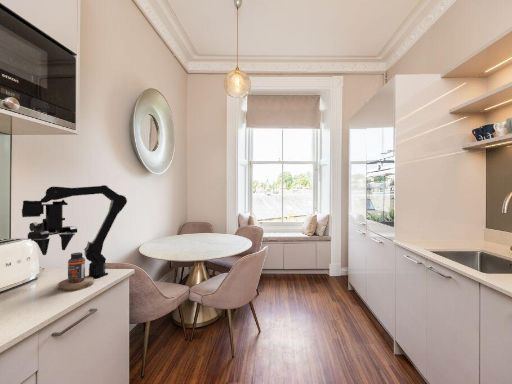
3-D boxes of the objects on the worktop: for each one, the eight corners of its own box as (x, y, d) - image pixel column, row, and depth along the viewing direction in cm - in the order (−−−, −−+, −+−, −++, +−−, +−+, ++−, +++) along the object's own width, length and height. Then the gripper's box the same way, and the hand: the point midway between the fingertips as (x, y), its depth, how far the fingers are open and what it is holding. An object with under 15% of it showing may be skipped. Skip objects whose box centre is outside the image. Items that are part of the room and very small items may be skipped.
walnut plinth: (75, 280, 116) (75, 275, 116) (100, 281, 114) (100, 276, 114) (50, 290, 104) (50, 285, 104) (77, 291, 102) (77, 286, 102)
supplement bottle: (65, 283, 105) (64, 255, 106) (71, 279, 111) (71, 252, 111) (82, 282, 107) (81, 254, 107) (87, 277, 113) (87, 251, 113)
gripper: (56, 214, 123) (56, 247, 123) (15, 217, 104) (15, 257, 104) (78, 214, 121) (78, 248, 121) (40, 218, 103) (40, 258, 103)
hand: (54, 252), depth 112 cm, fingers open, 9 cm apart
